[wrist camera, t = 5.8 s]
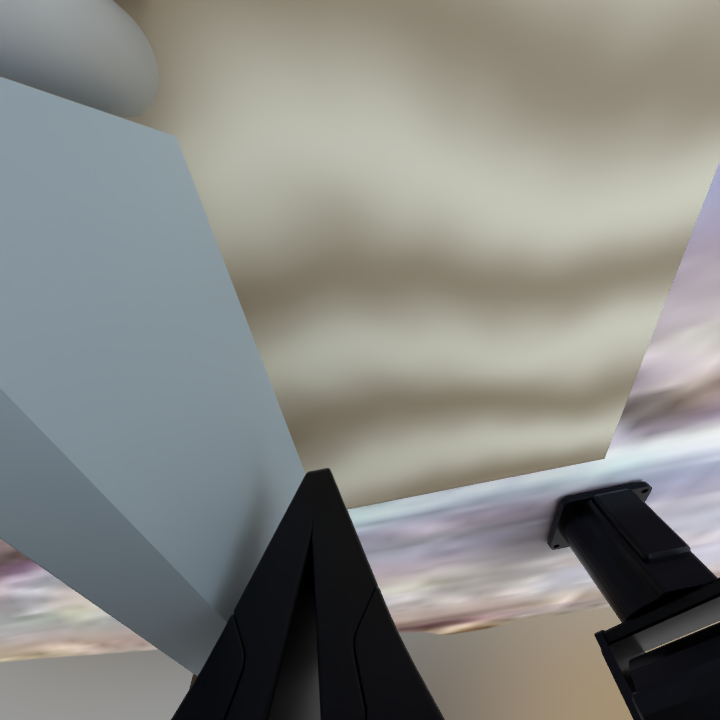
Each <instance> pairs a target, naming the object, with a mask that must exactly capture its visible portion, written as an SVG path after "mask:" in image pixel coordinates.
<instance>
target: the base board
mask: <svg viewBox="0 0 720 720" xmlns="http://www.w3.org/2000/svg"><path fill="white" fill-rule="evenodd" d="M113 1H114V2H115V3H117V4H118V5H119V6H120V7H121V8H122V9H123V10H124V11H126V12H127V13H128V14H129V15H130V16H131V17H132V18H133V19H134V21H135V22H136V23H137V24H138V26H139V27H140V28H141V30H142V31H143V33H144V34H145V36H146V38H147V40H148V41H149V43H150V45H151V48H152V50H153V53H154V56H155V59H156V63H157V67H158V75H159V85H158V91H157V95H156V98H155V100H154V102H153V104H152V105H151V107H150V108H149V109H148V110H147V111H145V112H144V113H142V114H140V115H138V116H134V117H121V118H124V119H126V120H129V121H132V122H135V123H138V124H141V125H144V126H147V127H150V128H153V129H156V130H159V131H162V132H165V133H168V134H171V135H174V136H176V137H177V140H178V143H179V145H180V148H181V150H182V153H183V156H184V158H185V161H186V163H187V166H188V169H189V171H190V174H191V176H192V179H193V182H194V184H195V187H196V190H197V192H198V195H199V197H200V200H201V203H202V205H203V208H204V210H205V213H206V216H207V218H208V221H209V223H210V226H211V229H212V231H213V234H214V237H215V239H216V242H217V244H218V247H219V250H220V252H221V255H222V257H223V260H224V263H225V265H226V268H227V270H228V273H229V276H230V278H231V281H232V283H233V286H234V289H235V291H236V294H237V297H238V299H239V302H240V304H241V307H242V310H243V312H244V315H245V317H246V320H247V323H248V325H249V328H250V330H251V333H252V336H253V338H254V341H255V344H256V346H257V349H258V351H259V354H260V357H261V359H262V362H263V364H264V367H265V370H266V372H267V375H268V377H269V380H270V383H271V385H272V388H273V391H274V393H275V396H276V398H277V401H278V404H279V406H280V409H281V411H282V414H283V417H284V419H285V422H286V424H287V427H288V430H289V432H290V435H291V438H292V440H293V443H294V445H295V448H296V451H297V453H298V456H299V458H300V461H301V464H302V466H303V469H304V471H305V474H306V473H307V472H309V471H313V470H318V469H324V468H330V470H331V472H332V474H333V477H334V479H335V482H336V484H337V486H338V489H339V491H340V494H341V496H342V499H343V501H344V504H345V506H346V508H347V509H352V508H357V507H362V506H367V505H372V504H377V503H382V502H387V501H392V500H397V499H402V498H407V497H413V496H418V495H423V494H428V493H433V492H438V491H443V490H448V489H453V488H458V487H463V486H468V485H473V484H478V483H484V482H489V481H494V480H499V479H504V478H509V477H514V476H519V475H524V474H529V473H534V472H539V471H544V470H549V469H555V468H560V467H565V466H570V465H575V464H580V463H585V462H590V461H595V460H600V459H604V458H605V456H606V453H607V450H608V448H609V445H610V443H611V440H612V438H613V435H614V432H615V430H616V427H617V425H618V422H619V420H620V417H621V414H622V412H623V409H624V407H625V404H626V401H627V399H628V396H629V394H630V391H631V389H632V386H633V383H634V381H635V378H636V376H637V373H638V371H639V368H640V365H641V363H642V360H643V358H644V355H645V353H646V350H647V347H648V345H649V342H650V340H651V337H652V334H653V332H654V329H655V327H656V324H657V322H658V319H659V316H660V314H661V311H662V309H663V306H664V304H665V301H666V298H667V296H668V293H669V291H670V288H671V286H672V283H673V280H674V278H675V275H676V273H677V270H678V267H679V265H680V262H681V260H682V257H683V255H684V252H685V249H686V247H687V244H688V242H689V239H690V237H691V234H692V231H693V229H694V226H695V224H696V221H697V219H698V216H699V213H700V211H701V208H702V206H703V203H704V200H705V198H706V195H707V193H708V190H709V188H710V185H711V182H712V180H713V177H714V175H715V172H716V170H717V167H718V164H719V162H720V0H113ZM0 77H1V76H0ZM3 78H4V77H3ZM6 79H7V78H6ZM9 80H10V79H9ZM12 81H13V80H12ZM15 82H16V81H15ZM18 83H19V82H18ZM21 84H22V83H21ZM23 85H25V84H23ZM26 86H28V85H26ZM29 87H30V86H29ZM32 88H33V87H32ZM35 89H36V88H35ZM38 90H39V89H38ZM41 91H42V90H41ZM44 92H45V91H44ZM47 93H48V92H47ZM50 94H51V93H50ZM53 95H54V94H53ZM56 96H57V95H56ZM59 97H60V96H59ZM62 98H63V97H62ZM65 99H66V98H65ZM68 100H69V99H68ZM73 102H74V101H73ZM76 103H77V102H76ZM79 104H80V103H79ZM82 105H83V104H82ZM85 106H86V105H85ZM88 107H89V106H88ZM91 108H92V107H91ZM94 109H95V108H94ZM97 110H98V109H97ZM100 111H101V110H100ZM103 112H104V111H103ZM106 113H107V112H106ZM109 114H110V113H109ZM112 115H113V114H112ZM118 117H120V116H118Z"/></svg>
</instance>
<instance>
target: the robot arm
mask: <svg viewBox="0 0 720 720" xmlns="http://www.w3.org/2000/svg"><path fill="white" fill-rule="evenodd" d="M651 490H652V487H651V486H650V485H649V484H648V483H646V482H639V483H634V484H629V485H624V486H619V487H614V488H609V489H604V490H599V491H594V492H588V493H583V494H578V495H573V496H568V497H565V498H563V499H562V500H561V501H560V503H559V506H558V510H557V513H556V516H555V519H554V522H553V526H552V529H551V532H550V535H549V539H548V542H547V544H548V545H549V547H550V548H551V549H553V550H555V549H560V548H565V547H571V549H572V550H573V552H574V553H575V555H576V556H577V558H578V559H579V561H580V562H581V564H582V565H583V566H584V568H585V569H586V571H587V572H588V574H589V575H590V577H591V578H592V580H593V581H594V583H595V584H596V585H597V587H598V588H599V590H600V591H601V593H602V594H603V596H604V597H605V599H606V600H607V602H608V603H609V604H610V606H611V607H612V609H613V610H614V611H615V613H616V615H617V616H618V618H619V619H620V620H621V622H622V623H621V624H619V625H617V626H615V627H612V628H610V629H608V630H606V631H604V630H601V631H599V632H597V633H595V637H596V639H597V641H598V643H599V645H600V647H601V651H602V654H603V656H604V658H605V661H606V663H607V665H608V667H609V669H610V671H611V673H612V675H613V677H614V679H615V682H616V683H617V686H618V688H619V690H620V692H621V694H622V696H623V698H624V700H625V702H626V705H627V707H628V709H629V711H630V713H631V715H632V717H633V719H634V720H720V622H719V623H717V624H715V625H712V626H710V627H707V628H705V629H702V630H700V631H698V632H695V633H693V634H690V635H688V636H686V637H683V638H681V639H678V640H676V641H674V642H671V643H669V644H666V645H664V646H661V647H659V648H656V649H654V650H652V651H649V652H647V653H645V651H648V650H650V649H652V648H655V647H657V646H659V645H662V644H665V643H667V642H669V641H672V640H674V639H676V638H679V637H681V636H683V635H686V634H689V633H691V632H693V631H696V630H698V629H701V628H703V627H705V626H708V625H710V624H712V623H715V622H717V621H720V578H717V577H716V576H715V575H714V574H713V573H712V572H711V571H710V570H709V569H708V568H707V567H706V566H705V565H704V564H703V563H702V562H701V561H700V560H699V559H698V558H697V557H696V556H695V555H694V554H693V553H692V552H691V551H690V547H689V546H688V545H687V544H686V543H685V542H684V541H683V540H682V539H681V538H680V537H679V536H678V535H677V534H676V533H675V532H674V531H673V530H672V529H671V528H670V527H669V526H668V525H667V524H666V523H665V522H664V521H663V520H662V519H661V518H660V517H659V516H658V515H657V514H656V513H655V512H654V511H653V510H652V509H651V508H650V507H649V506H648V505H647V504H646V503H645V501H646V499H647V497H648V495H649V494H650V492H651ZM171 720H445V719H444V717H443V715H442V713H441V712H440V710H439V708H438V706H437V704H436V703H435V701H434V699H433V697H432V695H431V694H430V692H429V690H428V688H427V686H426V684H425V682H424V681H423V679H422V677H421V675H420V673H419V672H418V670H417V668H416V666H415V664H414V662H413V660H412V658H411V656H410V654H409V652H408V651H407V649H406V647H405V645H404V643H403V641H402V639H401V637H400V635H399V633H398V631H397V628H396V626H395V624H394V622H393V619H392V617H391V615H390V613H389V610H388V608H387V606H386V603H385V601H384V599H383V596H382V594H381V591H380V589H379V588H378V584H377V582H376V579H375V577H374V575H373V572H372V570H371V567H370V565H369V562H368V560H367V557H366V555H365V552H364V550H363V548H362V545H361V543H360V540H359V538H358V535H357V533H356V530H355V528H354V526H353V523H352V521H351V518H350V516H349V513H348V511H347V508H346V506H345V504H344V501H343V499H342V496H341V494H340V491H339V489H338V486H337V484H336V482H335V479H334V477H333V474H332V472H331V470H330V468H324V469H318V470H313V471H309V472H307V473H306V474H305V476H304V478H303V480H302V482H301V484H300V486H299V487H298V489H297V491H296V493H295V495H294V497H293V499H292V501H291V503H290V505H289V506H288V508H287V510H286V512H285V514H284V516H283V518H282V520H281V522H280V523H279V525H278V527H277V529H276V531H275V533H274V535H273V537H272V539H271V541H270V542H269V544H268V546H267V548H266V550H265V552H264V554H263V556H262V558H261V559H260V561H259V563H258V565H257V567H256V569H255V571H254V573H253V575H252V577H251V578H250V580H249V582H248V584H247V586H246V588H245V590H244V592H243V594H242V596H241V597H240V599H239V601H238V603H237V605H236V607H235V609H234V614H232V615H231V616H230V618H229V620H228V622H227V624H226V626H225V627H224V629H223V631H222V633H221V635H220V637H219V639H218V641H217V642H216V644H215V646H214V648H213V650H212V651H211V653H210V655H209V657H208V659H207V660H206V662H205V664H204V666H203V668H202V669H201V671H200V673H199V674H198V676H197V678H196V679H195V681H194V683H193V684H192V686H191V688H190V689H189V691H188V693H187V694H186V696H185V698H184V699H183V701H182V703H181V704H180V706H179V708H178V710H177V711H176V713H175V714H174V716H173V718H172V719H171Z"/></svg>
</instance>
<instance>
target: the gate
mask: <svg viewBox="0 0 720 720" xmlns="http://www.w3.org/2000/svg"><path fill="white" fill-rule="evenodd" d="M0 76H1V77H0V538H1V539H2V540H3V541H5V542H6V543H8V544H9V545H11V546H12V547H13V548H15V549H16V550H18V551H19V552H21V553H22V554H23V555H25V556H26V557H28V558H29V559H31V560H32V561H33V562H35V563H36V564H38V565H39V566H41V567H42V568H43V569H45V570H46V571H48V572H49V573H51V574H52V575H53V576H55V577H56V578H58V579H59V580H61V581H62V582H63V583H65V584H66V585H68V586H69V587H71V588H72V589H73V590H75V591H76V592H78V593H79V594H81V595H82V596H83V597H85V598H86V599H88V600H89V601H91V602H92V603H93V604H95V605H96V606H98V607H99V608H101V609H102V610H103V611H105V612H106V613H108V614H109V615H111V616H112V617H113V618H115V619H116V620H118V621H119V622H121V623H122V624H123V625H125V626H126V627H128V628H129V629H131V630H132V631H134V632H135V633H136V634H138V635H139V636H141V637H142V638H144V639H145V640H146V641H148V642H149V643H151V644H152V645H154V646H155V647H156V648H158V649H159V650H161V651H162V652H164V653H165V654H166V655H168V656H170V657H171V658H172V659H174V660H175V661H177V662H178V663H179V664H181V665H182V666H184V667H185V668H186V669H188V670H189V671H191V672H192V673H194V674H195V675H196V676H198V674H199V673H200V671H201V669H202V668H203V666H204V664H205V662H206V660H207V659H208V657H209V655H210V653H211V651H212V650H213V648H214V646H215V644H216V642H217V641H218V639H219V637H220V635H221V633H222V631H223V629H224V627H225V626H226V624H227V622H228V620H229V618H230V616H231V615H232V614H234V609H235V607H236V605H237V603H238V601H239V599H240V597H241V596H242V594H243V592H244V590H245V588H246V586H247V584H248V582H249V580H250V578H251V577H252V575H253V573H254V571H255V569H256V567H257V565H258V563H259V561H260V559H261V558H262V556H263V554H264V552H265V550H266V548H267V546H268V544H269V542H270V541H271V539H272V537H273V535H274V533H275V531H276V529H277V527H278V525H279V523H280V522H281V520H282V518H283V516H284V514H285V512H286V510H287V508H288V506H289V505H290V503H291V501H292V499H293V497H294V495H295V493H296V491H297V489H298V487H299V486H300V484H301V482H302V480H303V478H304V476H305V471H304V469H303V466H302V464H301V461H300V458H299V456H298V453H297V451H296V448H295V445H294V443H293V440H292V438H291V435H290V432H289V430H288V427H287V424H286V422H285V419H284V417H283V414H282V411H281V409H280V406H279V404H278V401H277V398H276V396H275V393H274V391H273V388H272V385H271V383H270V380H269V377H268V375H267V372H266V370H265V367H264V364H263V362H262V359H261V357H260V354H259V351H258V349H257V346H256V344H255V341H254V338H253V336H252V333H251V330H250V328H249V325H248V323H247V320H246V317H245V315H244V312H243V310H242V307H241V304H240V302H239V299H238V297H237V294H236V291H235V289H234V286H233V283H232V281H231V278H230V276H229V273H228V270H227V268H226V265H225V263H224V260H223V257H222V255H221V252H220V250H219V247H218V244H217V242H216V239H215V237H214V234H213V231H212V229H211V226H210V223H209V221H208V218H207V216H206V213H205V210H204V208H203V205H202V203H201V200H200V197H199V195H198V192H197V190H196V187H195V184H194V182H193V179H192V176H191V174H190V171H189V169H188V166H187V163H186V161H185V158H184V156H183V153H182V150H181V148H180V145H179V143H178V140H177V137H176V136H174V135H171V134H168V133H165V132H162V131H159V130H156V129H153V128H150V127H147V126H144V125H141V124H138V123H135V122H132V121H129V120H126V119H124V118H121V117H134V116H138V115H140V114H142V113H144V112H145V111H147V110H148V109H149V108H150V107H151V105H152V104H153V102H154V100H155V98H156V95H157V91H158V85H159V75H158V67H157V63H156V59H155V56H154V53H153V50H152V48H151V45H150V43H149V41H148V40H147V38H146V36H145V34H144V33H143V31H142V30H141V28H140V27H139V26H138V24H137V23H136V22H135V21H134V19H133V18H132V17H131V16H130V15H129V14H128V13H127V12H126V11H124V10H123V9H122V8H121V7H120V6H119V5H118V4H117V3H115V2H114V1H113V0H0ZM3 77H4V78H3ZM6 78H7V79H6ZM9 79H10V80H9ZM12 80H13V81H12ZM15 81H16V82H15ZM18 82H19V83H18ZM21 83H22V84H21ZM23 84H25V85H23ZM26 85H28V86H26ZM29 86H30V87H29ZM32 87H33V88H32ZM35 88H36V89H35ZM38 89H39V90H38ZM41 90H42V91H41ZM44 91H45V92H44ZM47 92H48V93H47ZM50 93H51V94H50ZM53 94H54V95H53ZM56 95H57V96H56ZM59 96H60V97H59ZM62 97H63V98H62ZM65 98H66V99H65ZM68 99H69V100H68ZM73 101H74V102H73ZM76 102H77V103H76ZM79 103H80V104H79ZM82 104H83V105H82ZM85 105H86V106H85ZM88 106H89V107H88ZM91 107H92V108H91ZM94 108H95V109H94ZM97 109H98V110H97ZM100 110H101V111H100ZM103 111H104V112H103ZM106 112H107V113H106ZM109 113H110V114H109ZM112 114H113V115H112ZM118 116H120V117H118Z"/></svg>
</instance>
